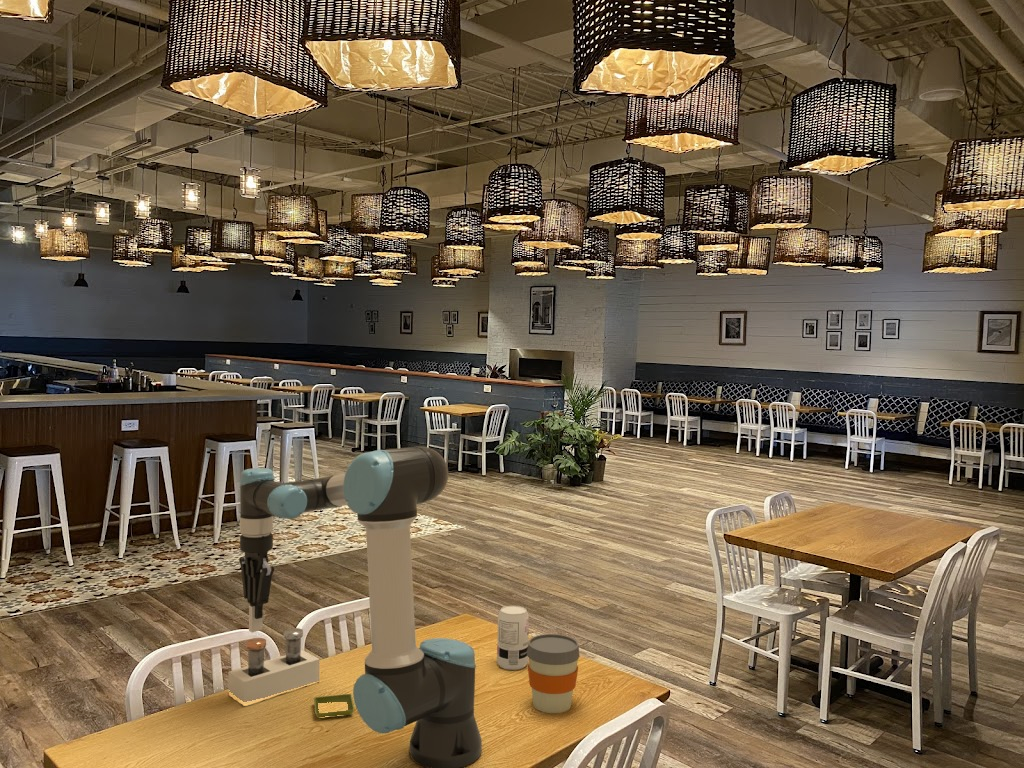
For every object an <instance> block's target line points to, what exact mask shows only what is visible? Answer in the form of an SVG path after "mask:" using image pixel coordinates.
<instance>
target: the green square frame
mask: <svg viewBox="0 0 1024 768" xmlns="http://www.w3.org/2000/svg"><path fill="white" fill-rule="evenodd" d="M353 701H354V699H353V696H352V693H345V694H343V693H342V694H336V695H335V694H334V695H326V696H325V695H323V696H317V697H316V696H315V697H314V698H313V702H314V704H313V705H314V713H315V715H316V717H317V718H318V717H325V716H337V715H349V716H351V715H352V713H354V710H355V706H354V705H355V704H354V702H353ZM327 702H328V703H329V702H331V703H332V702H347V704H348V710H346V711H337V712H328V713H319V711H318V710H319V709H318V703H327Z"/></svg>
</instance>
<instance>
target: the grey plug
mask: <svg viewBox="0 0 1024 768" xmlns="http://www.w3.org/2000/svg"><path fill="white" fill-rule="evenodd" d="M303 630H304V629H302V628H299V627H298V628H297V627H293V628H288V629H285V630H283V638H284V639H285V655H286V664H288V665H293V664H296V663H299V662H301V650H302V648H301V646H302V644H301V643H302V642H301V641H302V638H303V636H304V635H303V634H304V631H303Z"/></svg>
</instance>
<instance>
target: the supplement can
mask: <svg viewBox="0 0 1024 768" xmlns="http://www.w3.org/2000/svg"><path fill="white" fill-rule="evenodd" d="M529 617H530V615H529V613H528V610H527V608H525V607H523V606H520V605H505V606H503V607H501V608H500V611H499V613H498V615H497V643H496V645H497V648H496V660H497V661H496V663H497V665H498V666H499V667H500V668H501V669H504V670H507V671H518V670H519V671H520V670H522V669H525V667H526V666H528V664H529V657H528V656H527V649H528V642H529V627H530V623H529V621H530V620H529V619H530V618H529Z"/></svg>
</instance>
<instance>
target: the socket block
mask: <svg viewBox="0 0 1024 768" xmlns="http://www.w3.org/2000/svg"><path fill="white" fill-rule="evenodd" d="M227 678H228V683H227V684H228V686H227V687H228V690H230V691H229V692H231V693H233V695H235V696H236V697H237V698H239V699H240V700H242V701H243V702H247V701H252V700H256V699H260V698H265V697H268V696H271V695H274V694H277V693H281V692H284V691H287V690H291V689H294V688H298V687H301V686H304V685H307V684H310V683H313V682H317V681H319V682H320V659H319V658H318V657H316V656H314V655H313V654H311V653H309V652H307V651H305V650H303V649H301V662H299V663H296V664H293V665H288V664H286V654H285V655H281V656H277V657H274V658H271V659H267V660H264V673H263V674H259V675H256V676H253V677H251V676H249V675H248V665H246V666H243V667H240V668H236V669H233V670H230V671H228V677H227Z"/></svg>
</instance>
